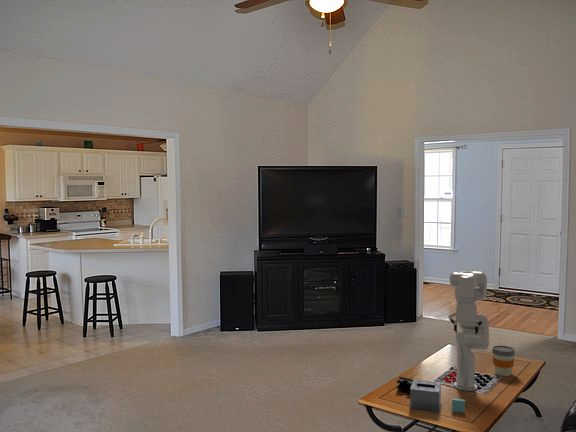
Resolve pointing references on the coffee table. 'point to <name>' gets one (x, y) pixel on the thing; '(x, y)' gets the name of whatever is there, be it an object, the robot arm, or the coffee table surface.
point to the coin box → (425, 395)
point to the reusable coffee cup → (503, 360)
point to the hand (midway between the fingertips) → (465, 333)
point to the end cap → (404, 385)
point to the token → (458, 405)
